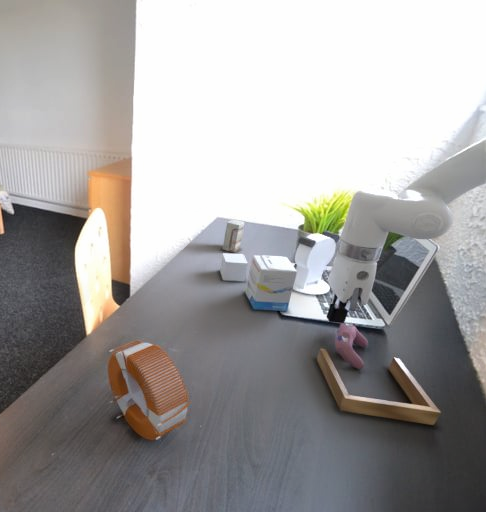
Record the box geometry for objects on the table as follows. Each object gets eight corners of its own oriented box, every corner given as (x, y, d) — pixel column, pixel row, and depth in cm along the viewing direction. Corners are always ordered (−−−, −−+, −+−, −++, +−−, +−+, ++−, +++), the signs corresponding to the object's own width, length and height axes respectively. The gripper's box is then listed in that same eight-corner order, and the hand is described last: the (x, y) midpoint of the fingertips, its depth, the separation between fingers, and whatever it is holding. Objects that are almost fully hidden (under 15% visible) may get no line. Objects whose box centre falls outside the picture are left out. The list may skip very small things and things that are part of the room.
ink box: (288, 311, 92) (298, 270, 87) (252, 309, 94) (261, 269, 89) (277, 294, 100) (286, 255, 95) (244, 292, 101) (252, 254, 96)
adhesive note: (244, 281, 107) (248, 263, 104) (222, 280, 108) (225, 262, 105) (240, 271, 112) (243, 254, 109) (219, 270, 113) (222, 253, 110)
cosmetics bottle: (234, 253, 124) (239, 225, 119) (221, 249, 127) (226, 222, 122) (240, 248, 127) (245, 221, 123) (228, 245, 130) (232, 218, 126)
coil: (132, 386, 71) (135, 323, 65) (187, 446, 60) (197, 376, 53) (102, 400, 68) (102, 336, 62) (154, 466, 57) (160, 395, 50)
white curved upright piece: (303, 271, 111) (315, 225, 105) (340, 288, 102) (356, 238, 96) (274, 280, 107) (285, 232, 100) (310, 298, 98) (325, 247, 91)
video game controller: (344, 345, 83) (336, 317, 82) (369, 345, 80) (360, 316, 79) (338, 370, 76) (328, 340, 75) (365, 371, 73) (355, 339, 72)
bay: (394, 369, 74) (399, 358, 72) (434, 425, 62) (441, 412, 61) (316, 359, 77) (320, 348, 76) (340, 410, 65) (345, 398, 64)
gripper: (397, 266, 70) (367, 343, 78) (364, 236, 83) (341, 305, 91) (352, 263, 72) (327, 338, 80) (327, 234, 85) (307, 301, 93)
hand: (334, 320), depth 85 cm, fingers closed
